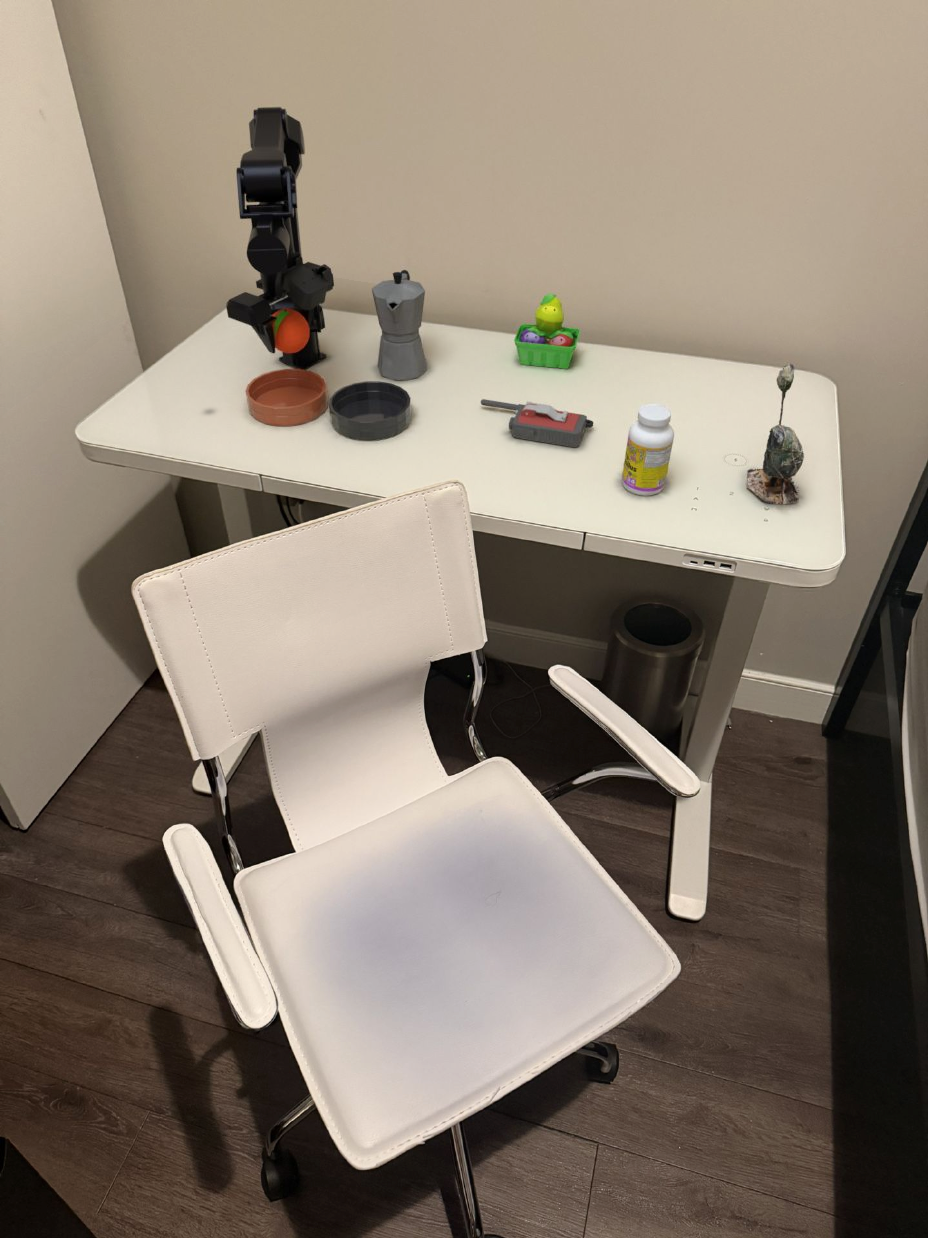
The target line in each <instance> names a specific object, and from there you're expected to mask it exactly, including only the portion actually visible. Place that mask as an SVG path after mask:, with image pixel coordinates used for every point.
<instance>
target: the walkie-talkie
mask: <svg viewBox="0 0 928 1238" xmlns="http://www.w3.org/2000/svg"><path fill="white" fill-rule="evenodd" d="M480 405H482V406H485V407H492V408H498V409H502V410H503V409H504V410H509V411H514V412H515V416H511V417H510V418H509V422H508V429H509V430H510V431H511V437H513V438H517V439H522V440H529V441H534V442H539V443H546V444H553V445H558V446H563V447H570V448H576V447H580V444H581V442H582V439H583V437H584V436H585V435H584V434H585V433H586V429H591V428H593V427H594V421H593V420H591V419H588V416H587V415H585V414H581V413H575V412H569V411H567V410H565V411H564V410H558V409H556V408H554V407H553V406H552V405H549V404H544V403H543V404H542V403H537V402H533V401H528V400H527V401H526V402H525V404H521V403H519V404H516V403H510V402H503V401H499V400H491V399H486V398H485V399H484V398H482V399H481V400H480Z"/></svg>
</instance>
